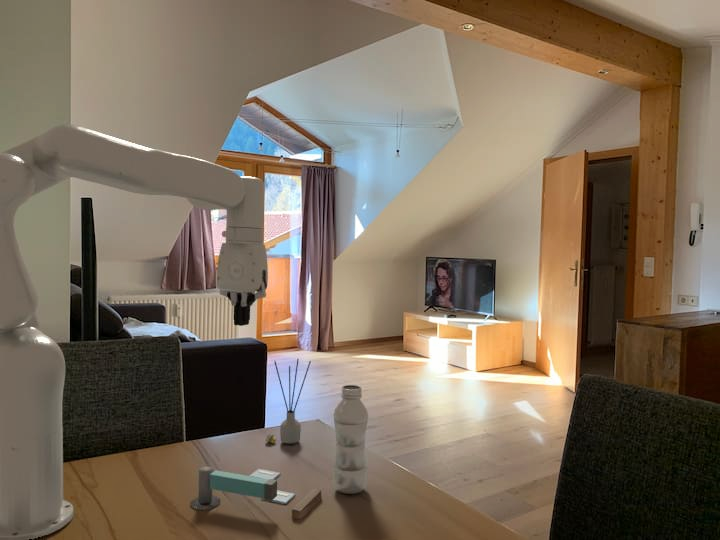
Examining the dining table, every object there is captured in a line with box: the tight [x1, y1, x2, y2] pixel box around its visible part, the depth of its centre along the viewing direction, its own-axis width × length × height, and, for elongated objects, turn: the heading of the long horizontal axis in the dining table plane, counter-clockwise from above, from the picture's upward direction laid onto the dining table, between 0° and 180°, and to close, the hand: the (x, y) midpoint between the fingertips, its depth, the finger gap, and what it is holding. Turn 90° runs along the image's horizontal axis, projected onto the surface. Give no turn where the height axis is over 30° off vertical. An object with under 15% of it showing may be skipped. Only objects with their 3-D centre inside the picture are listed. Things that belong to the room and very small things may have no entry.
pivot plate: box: [190, 495, 221, 511], centre depth 98 cm, size 5×5×1 cm
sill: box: [291, 488, 322, 520], centre depth 98 cm, size 2×8×2 cm, turn 159°
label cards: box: [249, 468, 296, 505], centre depth 106 cm, size 12×11×1 cm
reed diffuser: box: [265, 358, 311, 444], centre depth 127 cm, size 10×7×20 cm
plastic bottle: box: [332, 384, 369, 495], centre depth 104 cm, size 6×7×20 cm
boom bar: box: [197, 466, 278, 504], centre depth 96 cm, size 15×2×6 cm, turn 72°
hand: (241, 324), depth 114 cm, fingers closed
